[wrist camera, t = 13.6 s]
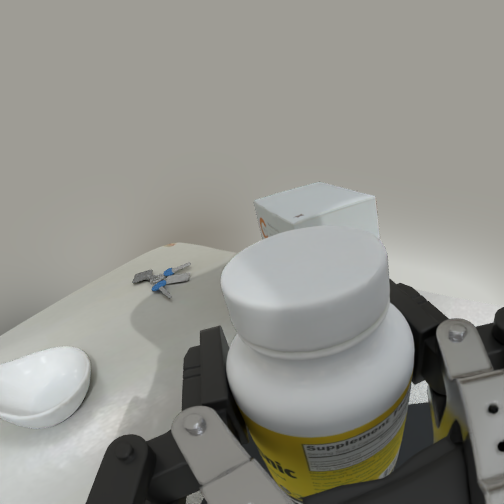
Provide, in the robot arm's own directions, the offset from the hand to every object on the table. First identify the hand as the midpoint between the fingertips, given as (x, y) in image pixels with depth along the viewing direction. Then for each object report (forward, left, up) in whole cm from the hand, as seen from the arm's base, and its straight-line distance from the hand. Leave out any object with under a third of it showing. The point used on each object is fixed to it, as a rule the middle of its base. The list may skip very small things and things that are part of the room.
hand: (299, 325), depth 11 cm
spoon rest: (+30, +4, -12) cm, 33 cm away
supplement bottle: (-1, +2, -6) cm, 7 cm away
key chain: (+27, -27, -12) cm, 40 cm away
